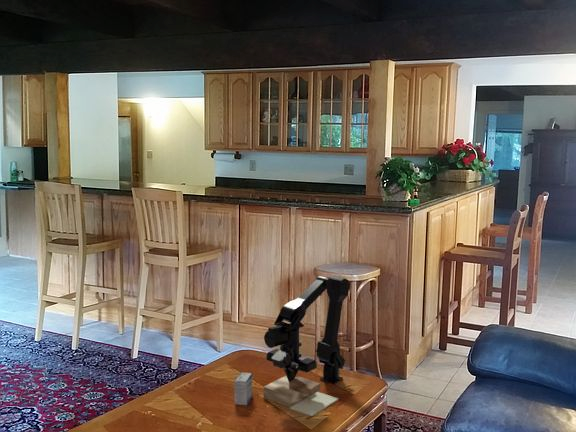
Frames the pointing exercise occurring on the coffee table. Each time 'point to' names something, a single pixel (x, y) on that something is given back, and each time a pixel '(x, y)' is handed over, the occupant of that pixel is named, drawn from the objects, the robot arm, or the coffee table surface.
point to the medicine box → (243, 388)
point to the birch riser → (283, 392)
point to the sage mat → (314, 403)
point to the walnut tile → (304, 386)
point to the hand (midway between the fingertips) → (290, 383)
